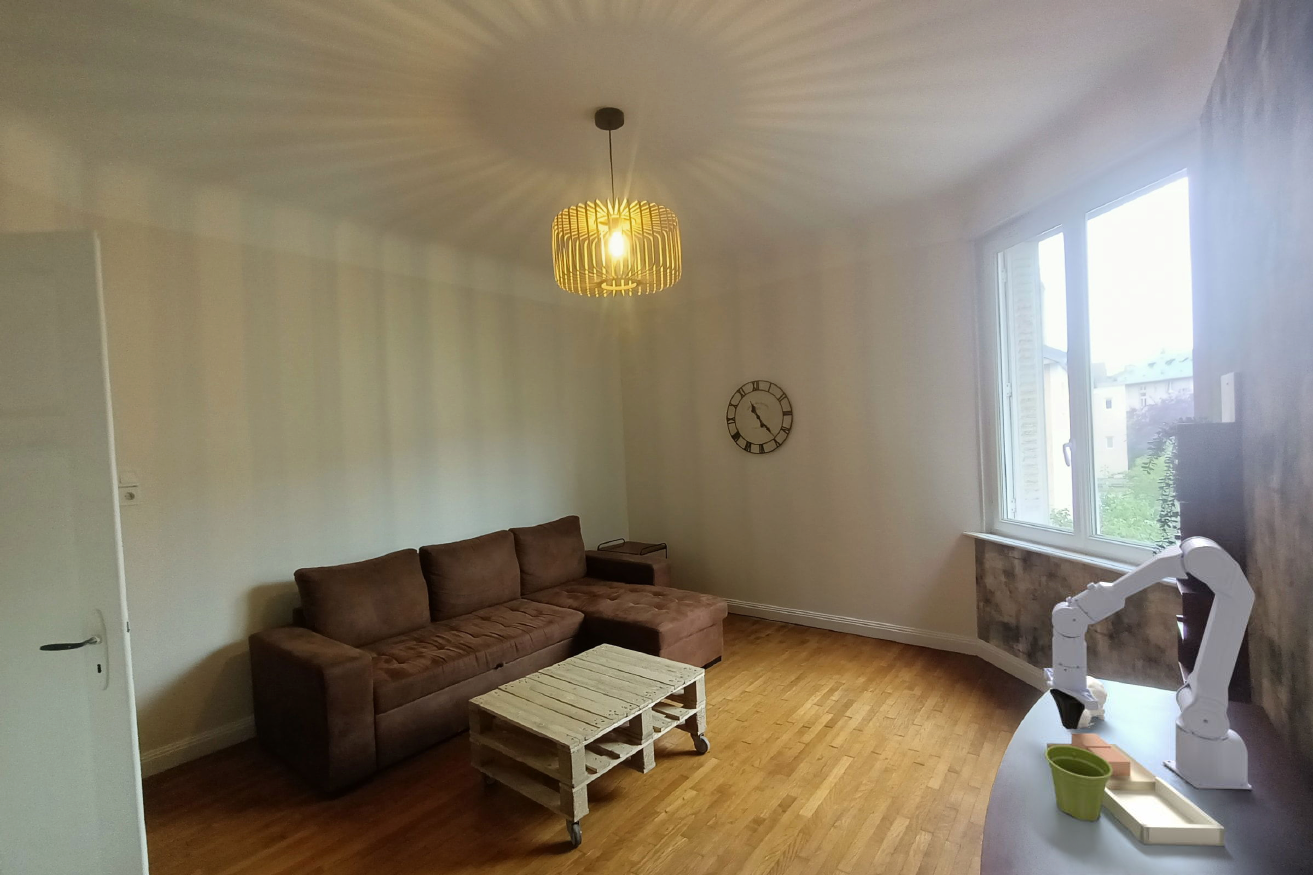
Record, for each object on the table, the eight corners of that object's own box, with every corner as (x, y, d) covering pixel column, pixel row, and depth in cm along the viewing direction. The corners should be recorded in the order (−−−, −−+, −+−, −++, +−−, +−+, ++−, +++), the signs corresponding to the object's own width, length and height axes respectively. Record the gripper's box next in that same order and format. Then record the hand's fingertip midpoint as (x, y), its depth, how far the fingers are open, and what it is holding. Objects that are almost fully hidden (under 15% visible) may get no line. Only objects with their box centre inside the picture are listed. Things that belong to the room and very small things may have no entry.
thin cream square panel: (1115, 753, 117) (1115, 743, 117) (1162, 792, 105) (1162, 781, 105) (1047, 752, 118) (1046, 743, 118) (1086, 791, 106) (1086, 780, 106)
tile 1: (1095, 745, 116) (1095, 733, 116) (1111, 759, 112) (1111, 746, 112) (1071, 745, 117) (1071, 733, 116) (1086, 758, 112) (1086, 746, 112)
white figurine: (1108, 677, 130) (1095, 701, 123) (1109, 713, 131) (1096, 739, 123) (1074, 669, 135) (1059, 691, 127) (1075, 704, 136) (1060, 728, 128)
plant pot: (1125, 831, 96) (1125, 779, 95) (1060, 825, 97) (1060, 774, 97) (1094, 794, 105) (1094, 747, 104) (1036, 789, 107) (1035, 743, 106)
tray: (1159, 792, 105) (1159, 777, 105) (1224, 845, 92) (1224, 828, 92) (1089, 791, 106) (1089, 776, 106) (1143, 843, 93) (1143, 826, 93)
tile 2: (1113, 760, 111) (1113, 747, 111) (1130, 775, 107) (1130, 761, 107) (1088, 760, 112) (1088, 747, 111) (1104, 774, 107) (1104, 761, 107)
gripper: (1029, 648, 128) (1029, 709, 128) (1071, 678, 113) (1071, 746, 114) (1063, 648, 127) (1063, 709, 128) (1109, 678, 113) (1109, 747, 113)
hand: (1069, 727), depth 121 cm, fingers closed
